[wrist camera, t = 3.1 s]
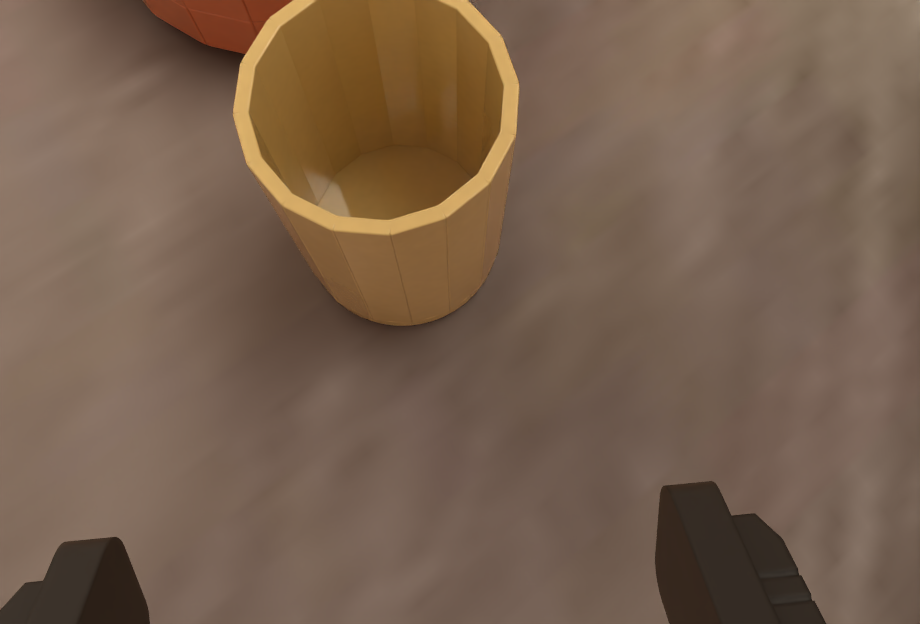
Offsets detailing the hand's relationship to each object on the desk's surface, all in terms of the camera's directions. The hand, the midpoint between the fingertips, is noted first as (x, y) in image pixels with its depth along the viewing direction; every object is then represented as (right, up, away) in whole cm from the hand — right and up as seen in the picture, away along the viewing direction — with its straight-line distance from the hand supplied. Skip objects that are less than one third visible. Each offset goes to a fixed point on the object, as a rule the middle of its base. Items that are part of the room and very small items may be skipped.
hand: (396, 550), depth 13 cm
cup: (-1, +6, +15) cm, 16 cm away
